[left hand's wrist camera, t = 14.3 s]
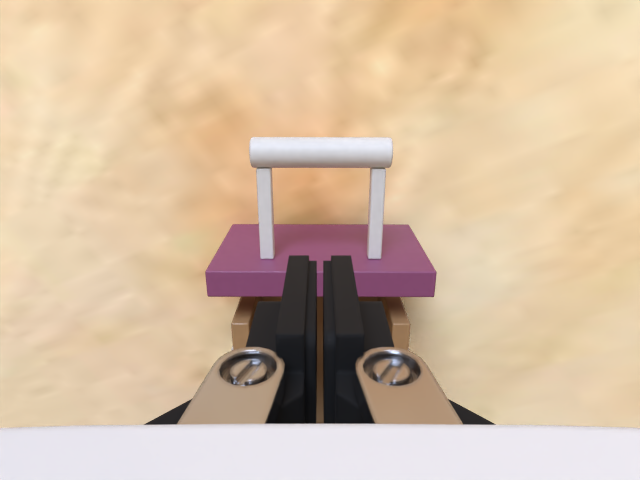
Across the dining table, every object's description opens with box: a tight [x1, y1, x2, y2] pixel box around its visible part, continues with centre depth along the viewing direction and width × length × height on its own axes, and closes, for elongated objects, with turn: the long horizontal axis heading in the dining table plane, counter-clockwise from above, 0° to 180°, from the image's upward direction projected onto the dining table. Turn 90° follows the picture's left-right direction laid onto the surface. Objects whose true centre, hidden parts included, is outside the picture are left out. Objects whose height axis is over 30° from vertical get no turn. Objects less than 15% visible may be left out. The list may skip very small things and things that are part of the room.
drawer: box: [205, 137, 436, 424], centre depth 23 cm, size 19×10×6 cm, turn 0°
